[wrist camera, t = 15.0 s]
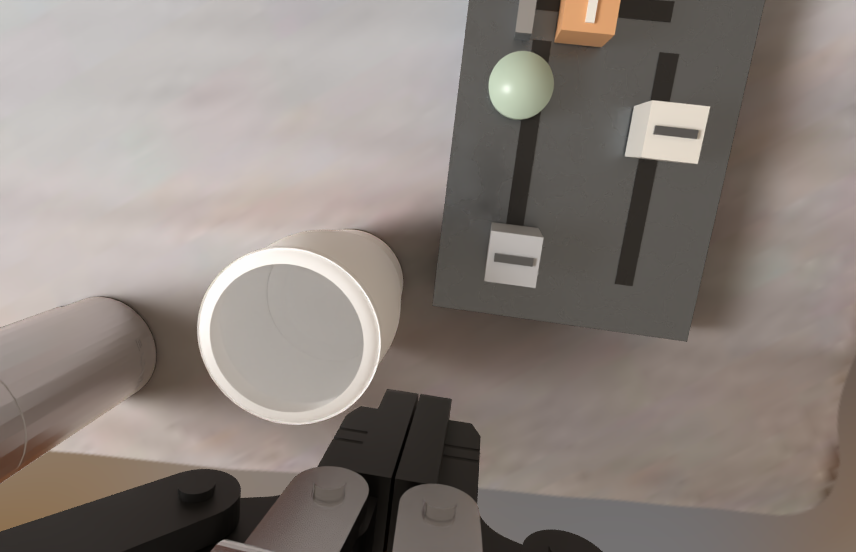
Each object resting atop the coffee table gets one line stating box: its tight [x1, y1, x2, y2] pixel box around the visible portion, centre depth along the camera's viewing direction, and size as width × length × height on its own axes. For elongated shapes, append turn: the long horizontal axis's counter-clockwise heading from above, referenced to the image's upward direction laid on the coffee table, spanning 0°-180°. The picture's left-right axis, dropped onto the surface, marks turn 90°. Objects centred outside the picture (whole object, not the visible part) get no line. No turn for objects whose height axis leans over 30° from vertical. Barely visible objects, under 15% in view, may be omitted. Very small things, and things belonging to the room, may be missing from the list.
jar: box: [197, 229, 403, 425], centre depth 39 cm, size 11×10×15 cm
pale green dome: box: [489, 51, 554, 120], centre depth 36 cm, size 4×4×2 cm
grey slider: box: [484, 222, 544, 288], centre depth 37 cm, size 3×3×5 cm
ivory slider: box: [625, 100, 710, 164], centre depth 35 cm, size 3×3×5 cm
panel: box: [432, 0, 765, 342], centre depth 39 cm, size 18×26×6 cm
